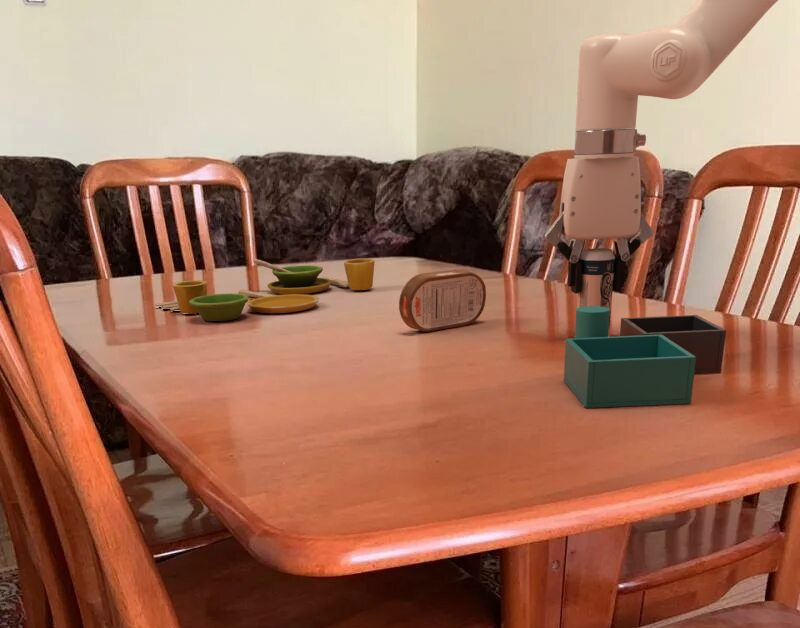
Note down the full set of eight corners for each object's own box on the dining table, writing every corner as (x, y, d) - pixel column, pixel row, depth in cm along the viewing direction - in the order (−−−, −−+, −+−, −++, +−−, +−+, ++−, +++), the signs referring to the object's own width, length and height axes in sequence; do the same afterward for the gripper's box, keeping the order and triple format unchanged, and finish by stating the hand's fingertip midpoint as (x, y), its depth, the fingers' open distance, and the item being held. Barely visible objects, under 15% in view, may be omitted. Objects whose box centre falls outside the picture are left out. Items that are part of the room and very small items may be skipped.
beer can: (610, 342, 115) (616, 252, 109) (575, 342, 115) (580, 252, 110) (608, 335, 119) (614, 247, 114) (574, 335, 120) (579, 248, 114)
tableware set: (327, 280, 177) (325, 249, 174) (409, 294, 157) (408, 259, 154) (144, 308, 154) (138, 272, 151) (212, 328, 134) (206, 288, 131)
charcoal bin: (692, 353, 107) (696, 314, 105) (720, 372, 98) (726, 330, 96) (618, 357, 107) (621, 318, 105) (640, 376, 98) (643, 334, 96)
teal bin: (657, 376, 98) (661, 334, 96) (690, 403, 88) (696, 356, 85) (563, 380, 98) (565, 338, 95) (585, 408, 87) (588, 361, 85)
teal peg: (601, 361, 105) (605, 305, 102) (609, 369, 102) (613, 311, 99) (570, 362, 105) (572, 306, 102) (577, 370, 102) (580, 312, 99)
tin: (476, 319, 132) (477, 265, 129) (489, 322, 130) (489, 267, 126) (398, 333, 125) (396, 276, 122) (410, 336, 123) (408, 278, 119)
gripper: (660, 143, 110) (647, 284, 118) (533, 148, 110) (529, 289, 118) (679, 143, 103) (664, 293, 111) (544, 148, 103) (539, 298, 111)
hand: (595, 289), depth 114 cm, fingers closed on beer can, 4 cm apart
